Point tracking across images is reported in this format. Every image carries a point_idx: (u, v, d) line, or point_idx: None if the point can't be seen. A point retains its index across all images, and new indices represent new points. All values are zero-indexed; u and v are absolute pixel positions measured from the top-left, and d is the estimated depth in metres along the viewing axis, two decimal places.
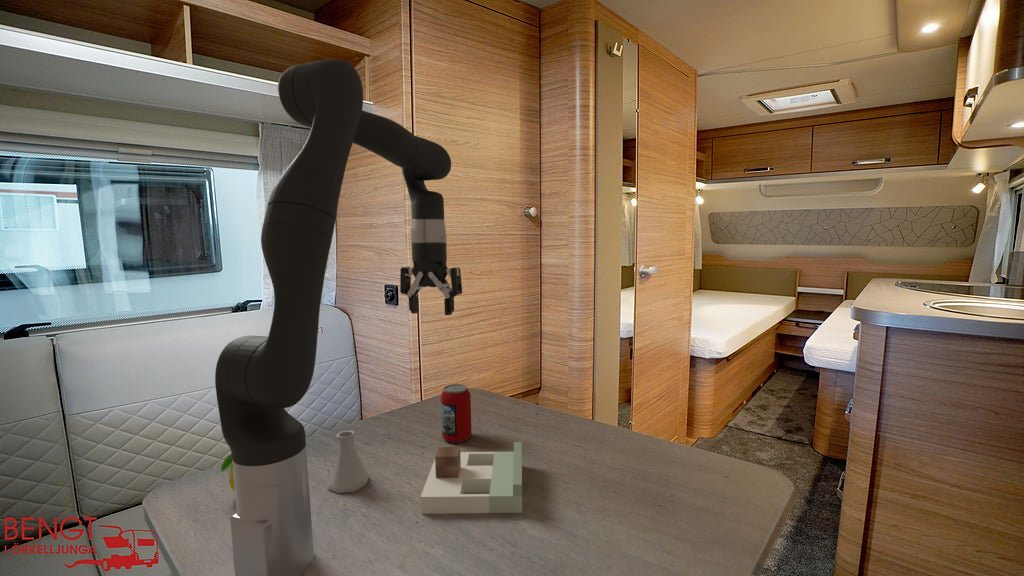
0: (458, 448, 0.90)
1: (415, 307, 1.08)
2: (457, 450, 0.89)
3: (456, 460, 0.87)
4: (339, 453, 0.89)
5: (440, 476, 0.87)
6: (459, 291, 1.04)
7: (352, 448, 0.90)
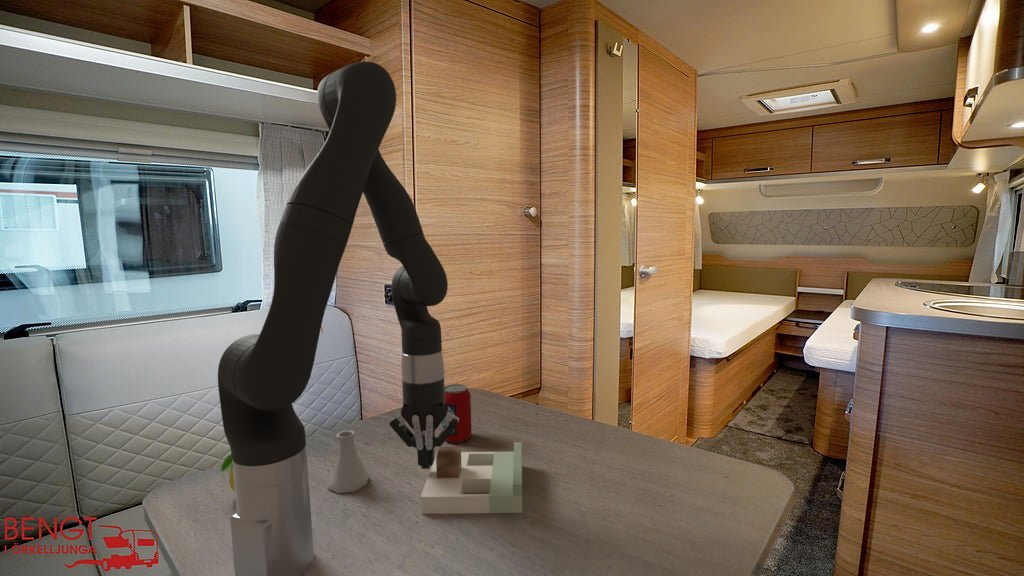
0: (459, 448, 0.90)
1: None
2: (458, 450, 0.89)
3: (457, 460, 0.86)
4: (339, 453, 0.89)
5: (441, 476, 0.87)
6: None
7: (352, 448, 0.90)
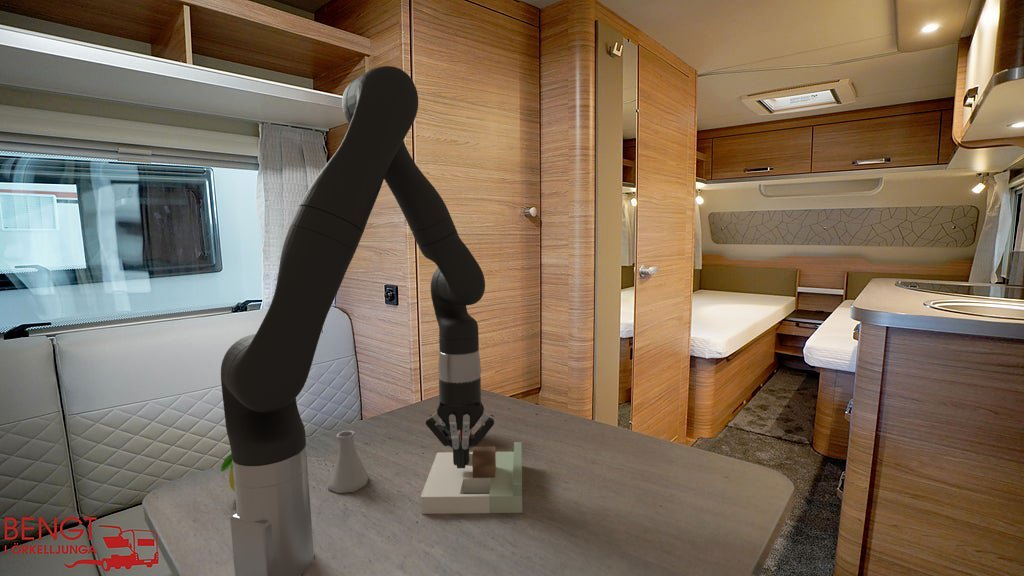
0: (494, 448, 0.90)
1: None
2: (493, 450, 0.89)
3: (493, 460, 0.86)
4: (339, 453, 0.89)
5: (477, 476, 0.87)
6: None
7: (352, 448, 0.90)
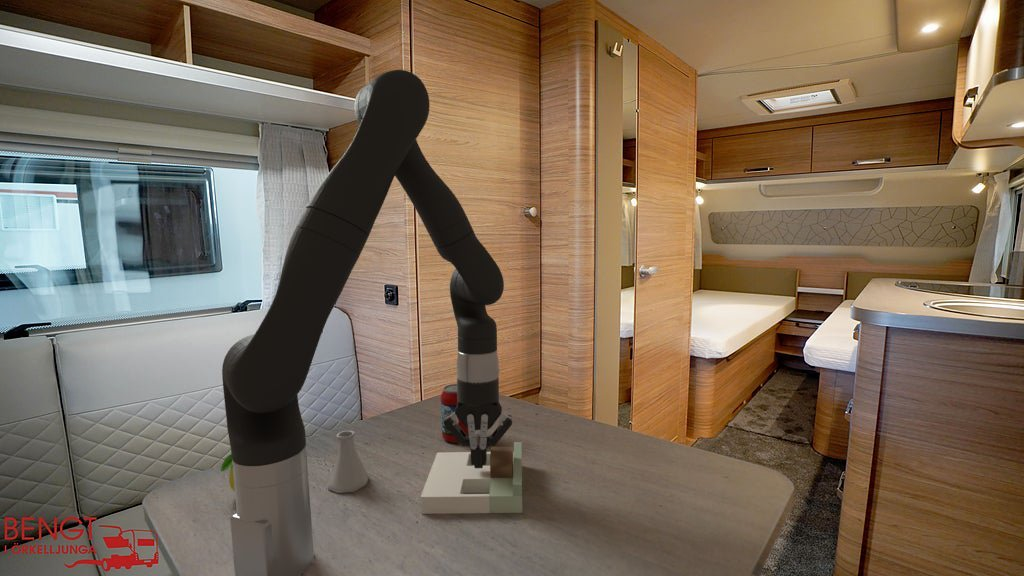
0: (511, 448, 0.89)
1: None
2: (511, 450, 0.88)
3: (511, 460, 0.86)
4: (339, 453, 0.89)
5: (495, 476, 0.87)
6: None
7: (352, 448, 0.90)
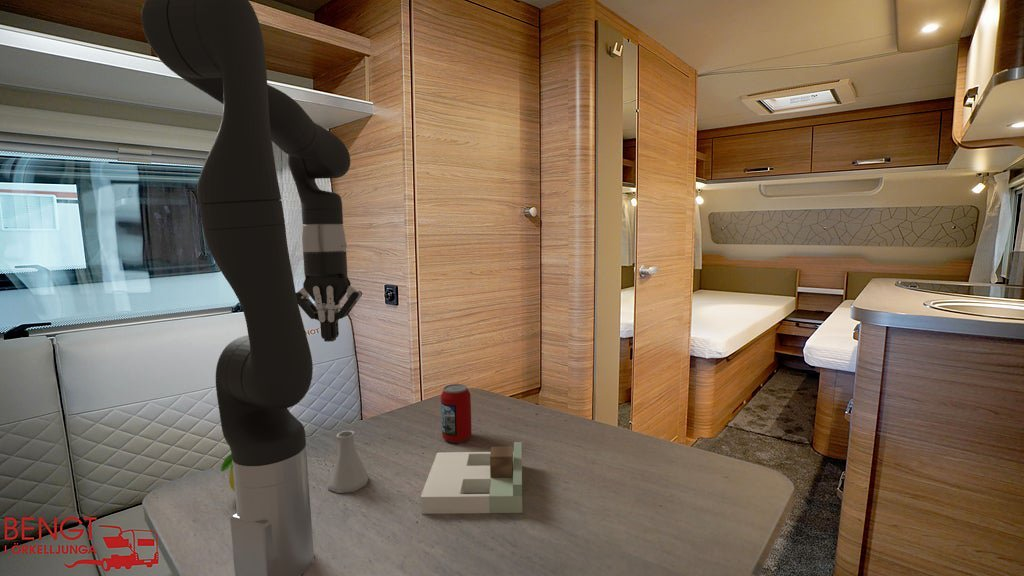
0: (511, 448, 0.89)
1: None
2: (511, 450, 0.88)
3: (511, 460, 0.86)
4: (339, 453, 0.89)
5: (495, 476, 0.87)
6: None
7: (352, 448, 0.90)
